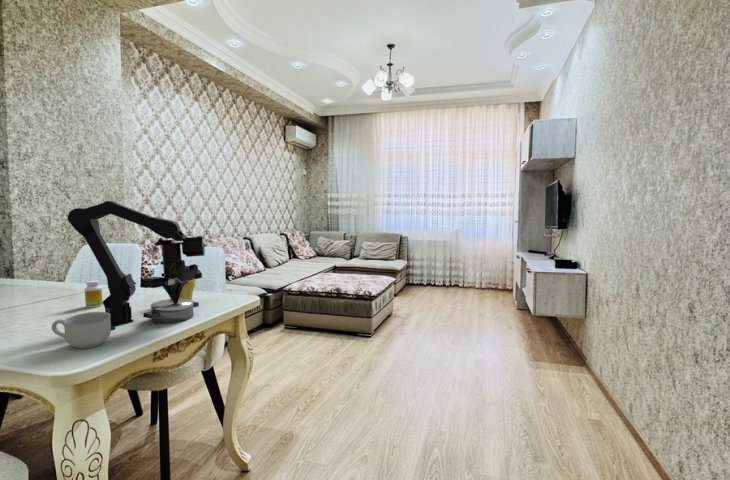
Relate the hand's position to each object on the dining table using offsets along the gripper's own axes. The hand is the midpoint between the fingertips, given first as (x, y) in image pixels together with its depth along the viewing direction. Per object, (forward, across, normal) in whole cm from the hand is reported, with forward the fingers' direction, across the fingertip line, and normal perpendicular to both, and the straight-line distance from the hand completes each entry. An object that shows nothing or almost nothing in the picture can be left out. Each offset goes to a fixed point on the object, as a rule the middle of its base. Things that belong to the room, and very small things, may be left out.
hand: (175, 303), depth 134 cm
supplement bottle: (+4, -4, +43) cm, 43 cm away
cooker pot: (+5, 0, +2) cm, 5 cm away
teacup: (+5, -29, 0) cm, 29 cm away
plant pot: (+5, +14, +16) cm, 21 cm away
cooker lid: (+1, 0, +1) cm, 2 cm away
